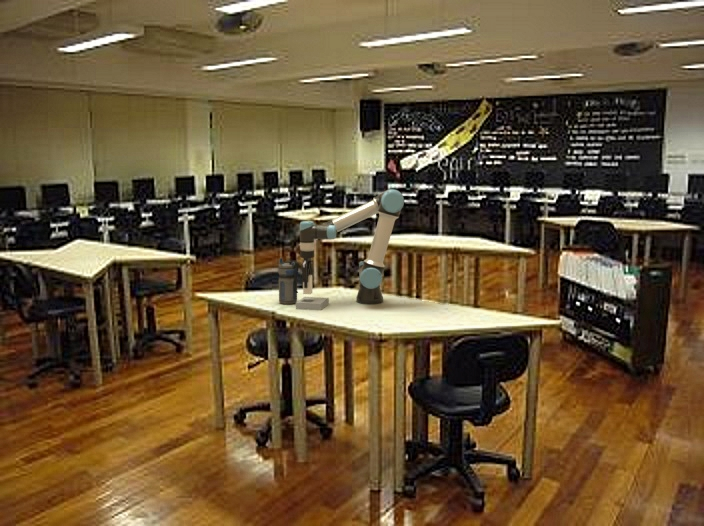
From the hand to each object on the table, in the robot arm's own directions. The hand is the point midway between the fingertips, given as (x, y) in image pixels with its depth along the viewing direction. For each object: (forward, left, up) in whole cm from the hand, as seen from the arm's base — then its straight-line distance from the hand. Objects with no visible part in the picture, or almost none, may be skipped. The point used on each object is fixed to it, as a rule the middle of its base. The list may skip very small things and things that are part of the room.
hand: (307, 292), depth 337 cm
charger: (0, 0, 0) cm, 0 cm away
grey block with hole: (-2, -2, -8) cm, 8 cm away
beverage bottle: (+13, -8, -8) cm, 17 cm away
